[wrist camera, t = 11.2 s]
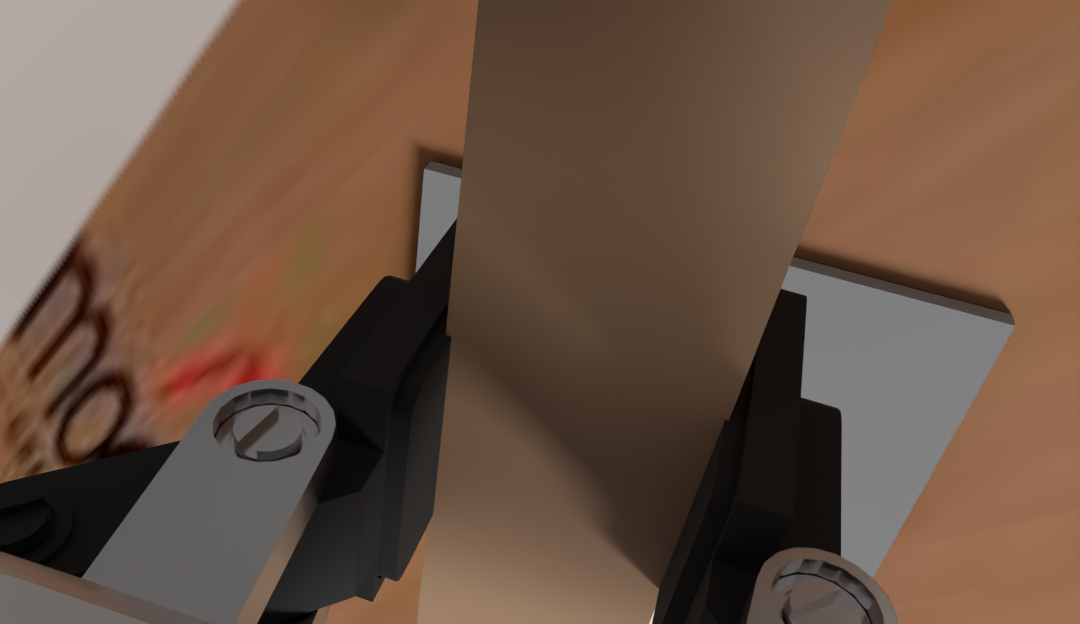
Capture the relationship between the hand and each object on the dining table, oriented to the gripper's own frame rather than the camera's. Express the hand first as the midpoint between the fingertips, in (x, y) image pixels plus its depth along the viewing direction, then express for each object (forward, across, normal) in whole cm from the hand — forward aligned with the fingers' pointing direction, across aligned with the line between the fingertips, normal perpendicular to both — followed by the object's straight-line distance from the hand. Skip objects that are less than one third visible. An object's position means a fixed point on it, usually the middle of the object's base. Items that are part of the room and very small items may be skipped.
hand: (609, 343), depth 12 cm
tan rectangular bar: (+1, 0, 0) cm, 1 cm away
